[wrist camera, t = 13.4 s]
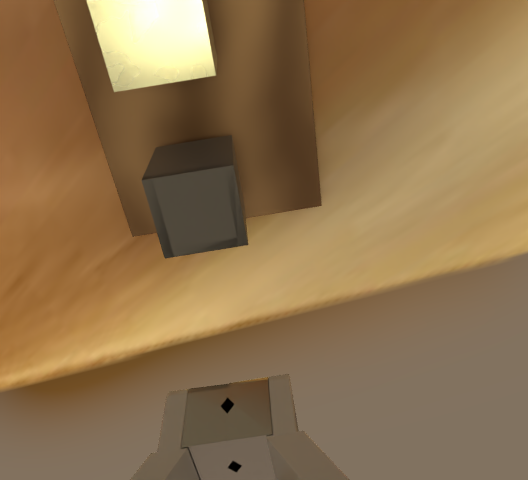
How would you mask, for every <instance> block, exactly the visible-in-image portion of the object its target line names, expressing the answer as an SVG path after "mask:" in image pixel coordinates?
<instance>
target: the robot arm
mask: <svg viewBox="0 0 528 480" xmlns="http://www.w3.org/2000/svg"><path fill="white" fill-rule="evenodd" d="M130 480H349V479H348V478H347V476H346V475H345V474H344V473H343V472H342V471H341V470H340V469H339V468H338V467H337V466H336V465H335V464H334V463H333V462H332V461H331V460H330V458H328V457H327V455H326V454H325V453H324V452H323V451H322V450H321V449H320V448H319V447H318V446H317V445H316V444H315V443H314V442H313V440H312V439H311V438H309V436H308V435H307V434H306V433H305V432H304V431H299V430H298V424H297V418H296V412H295V406H294V400H293V394H292V388H291V382H290V377H289V374H285V375H279V376H272V377H269V378H268V377H265V378H259V379H252V380H246V381H240V382H234V383H229V384H224V385H217V386H216V385H215V386H207V387H200V388H191V389H186V390H178V391H171V392H169V393H168V395H167V397H166V402H165V408H164V414H163V420H162V426H161V433H160V438H159V444H158V451H157V452H156V453H151V454H150V455H149V457H148V458H147V459H146V460H145V462H144V463H143V464H142V465H141V467H140V468H139V469H138V470H137V472H136V473H135V474H134V476H133V477H132V478H131V479H130Z"/></svg>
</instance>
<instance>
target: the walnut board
mask: <svg viewBox="0 0 528 480" xmlns="http://www.w3.org/2000/svg"><path fill="white" fill-rule="evenodd" d="M54 3H55V6H56V9H57V12H58V15H59V18H60V21H61V24H62V27H63V30H64V33H65V36H66V39H67V42H68V45H69V48H70V51H71V54H72V57H73V60H74V63H75V66H76V69H77V72H78V75H79V78H80V81H81V84H82V87H83V90H84V93H85V96H86V99H87V102H88V105H89V108H90V111H91V114H92V117H93V120H94V123H95V126H96V129H97V132H98V135H99V138H100V141H101V143H102V146H103V149H104V152H105V155H106V158H107V161H108V164H109V167H110V170H111V173H112V176H113V179H114V182H115V185H116V188H117V191H118V194H119V197H120V200H121V203H122V206H123V209H124V212H125V215H126V218H127V221H128V224H129V227H130V230H131V233H132V236H133V237H134V236H140V235H146V234H152V233H157V231H156V227H155V224H154V221H153V217H152V214H151V211H150V207H149V204H148V201H147V197H146V194H145V191H144V187H143V184H142V181H141V180H142V178H143V175H144V173H145V171H146V169H147V166H148V164H149V162H150V160H151V157H152V155H153V153H154V150H155V148H156V147H161V146H167V145H173V144H180V143H186V142H192V141H198V140H204V139H210V138H216V137H222V136H228V135H232V138H233V144H234V149H235V155H236V160H237V166H238V171H239V177H240V182H241V188H242V193H243V199H244V205H245V215H246V218H250V217H256V216H262V215H268V214H274V213H280V212H286V211H292V210H298V209H305V208H311V207H317V206H322V205H321V194H320V182H319V171H318V159H317V147H316V136H315V124H314V113H313V101H312V89H311V78H310V66H309V55H308V43H307V31H306V20H305V8H304V0H207V4H208V10H209V15H210V21H211V26H212V32H213V37H214V43H215V48H216V54H217V59H218V60H217V70H216V76H210V77H204V78H197V79H191V80H185V81H179V82H173V83H167V84H161V85H155V86H149V87H143V88H137V89H131V90H124V91H118V92H114V90H113V87H112V84H111V80H110V77H109V74H108V70H107V67H106V64H105V60H104V57H103V54H102V50H101V47H100V44H99V40H98V37H97V34H96V30H95V27H94V24H93V21H92V17H91V14H90V11H89V7H88V4H87V1H86V0H54Z"/></svg>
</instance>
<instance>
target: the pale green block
mask: <svg viewBox="0 0 528 480" xmlns="http://www.w3.org/2000/svg"><path fill="white" fill-rule="evenodd" d="M86 1H87V4H88V7H89V11H90V14H91V17H92V21H93V24H94V27H95V30H96V34H97V37H98V40H99V44H100V47H101V50H102V54H103V57H104V60H105V64H106V67H107V70H108V74H109V77H110V80H111V84H112V87H113V90H114V92H118V91H124V90H131V89H137V88H143V87H149V86H155V85H161V84H167V83H173V82H179V81H185V80H191V79H197V78H204V77H210V76H216V70H217V60H218V59H217V54H216V48H215V43H214V37H213V32H212V26H211V21H210V15H209V10H208V4H207V0H86Z"/></svg>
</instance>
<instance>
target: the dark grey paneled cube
mask: <svg viewBox="0 0 528 480" xmlns="http://www.w3.org/2000/svg"><path fill="white" fill-rule="evenodd" d="M141 181H142V184H143V187H144V191H145V194H146V197H147V201H148V204H149V207H150V211H151V214H152V217H153V221H154V224H155V227H156V231H157V234H158V237H159V241H160V244H161V247H162V251H163V254H164V257H165V258H171V257H177V256H183V255H189V254H195V253H201V252H207V251H214V250H220V249H226V248H232V247H238V246H244V245H248V237H247V226H246V215H245V205H244V199H243V193H242V188H241V182H240V177H239V171H238V166H237V160H236V155H235V149H234V144H233V138H232V135H228V136H222V137H216V138H210V139H204V140H198V141H192V142H186V143H180V144H173V145H167V146H161V147H156V148H155V150H154V153H153V155H152V157H151V160H150V162H149V164H148V166H147V169H146V171H145V173H144V175H143V178H142V180H141Z"/></svg>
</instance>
